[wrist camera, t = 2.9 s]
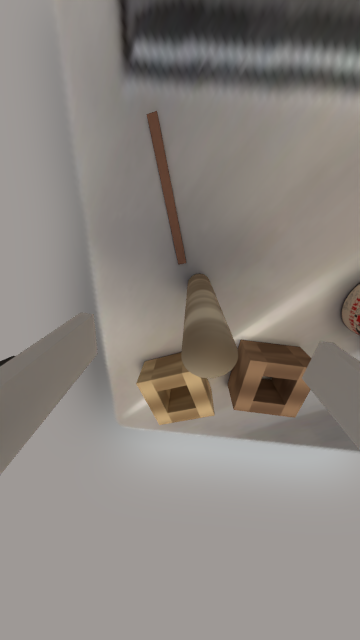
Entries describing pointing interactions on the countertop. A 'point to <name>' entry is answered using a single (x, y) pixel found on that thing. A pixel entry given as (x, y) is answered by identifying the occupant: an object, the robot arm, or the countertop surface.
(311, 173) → the countertop surface
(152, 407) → the light wooden square frame
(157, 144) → the brown wooden stick
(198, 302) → the beige wooden dowel
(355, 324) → the teacup with lid
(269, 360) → the bead dark
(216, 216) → the countertop surface
